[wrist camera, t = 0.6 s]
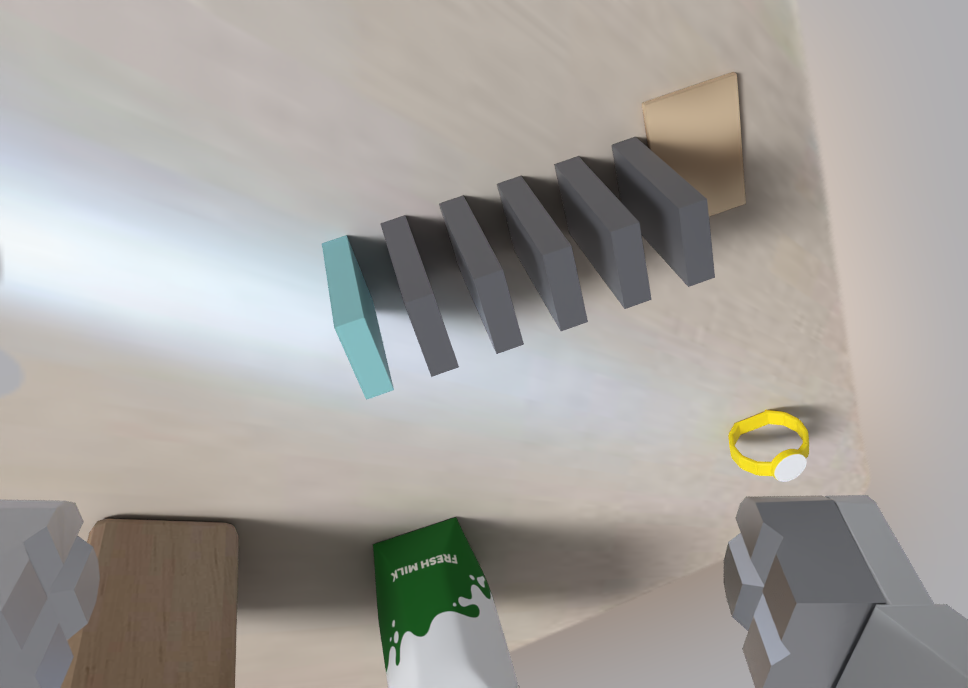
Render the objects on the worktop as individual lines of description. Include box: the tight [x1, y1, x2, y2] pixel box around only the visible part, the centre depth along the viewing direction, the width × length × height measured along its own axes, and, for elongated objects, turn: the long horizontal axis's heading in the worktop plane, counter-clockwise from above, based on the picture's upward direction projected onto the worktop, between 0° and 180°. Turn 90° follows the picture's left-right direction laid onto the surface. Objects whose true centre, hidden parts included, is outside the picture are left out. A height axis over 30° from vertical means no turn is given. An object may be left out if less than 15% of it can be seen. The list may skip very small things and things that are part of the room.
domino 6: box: [612, 137, 715, 287], centre depth 49 cm, size 2×5×10 cm, turn 15°
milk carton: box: [373, 517, 520, 688], centre depth 59 cm, size 9×9×20 cm
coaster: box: [642, 72, 746, 216], centre depth 53 cm, size 9×6×1 cm, turn 15°
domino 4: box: [497, 176, 588, 331], centre depth 48 cm, size 2×5×10 cm, turn 15°
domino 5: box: [554, 156, 651, 309], centre depth 48 cm, size 2×5×10 cm, turn 14°
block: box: [61, 519, 239, 688], centre depth 53 cm, size 10×10×20 cm
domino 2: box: [381, 215, 459, 377], centre depth 48 cm, size 2×5×10 cm, turn 14°
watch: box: [728, 410, 809, 482], centre depth 65 cm, size 6×3×6 cm, turn 107°
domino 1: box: [322, 235, 394, 400], centre depth 48 cm, size 2×5×10 cm, turn 14°
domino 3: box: [439, 196, 524, 354], centre depth 48 cm, size 2×5×10 cm, turn 15°
